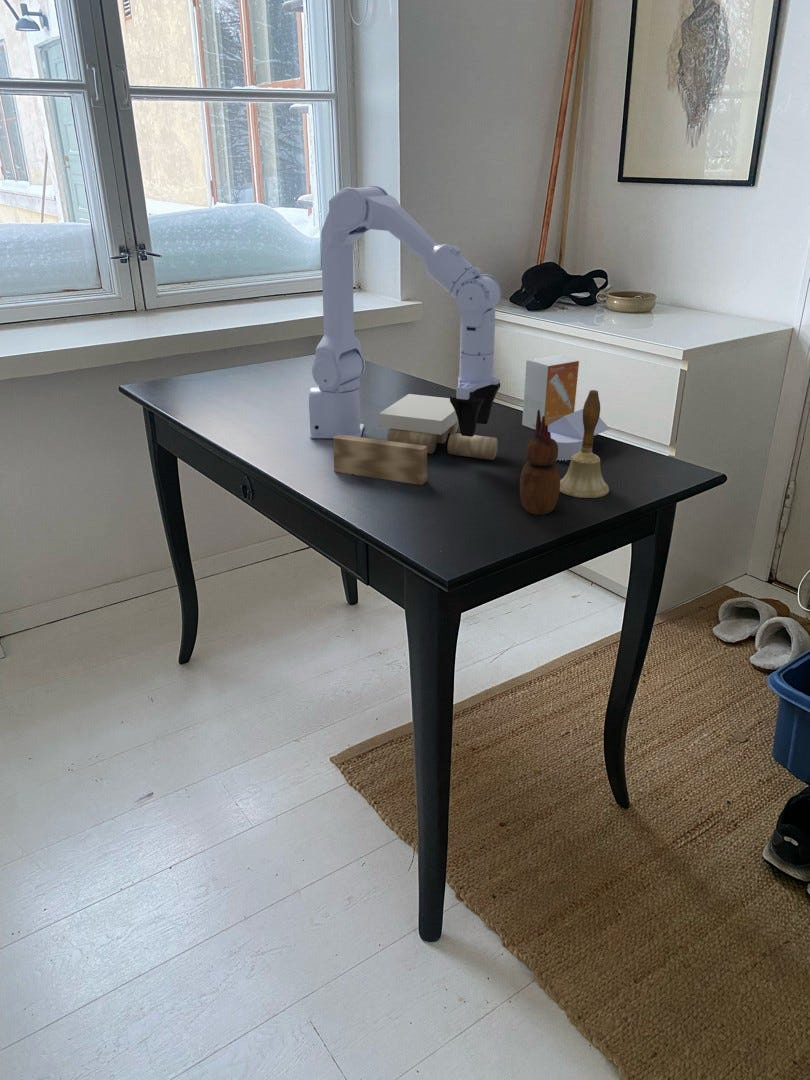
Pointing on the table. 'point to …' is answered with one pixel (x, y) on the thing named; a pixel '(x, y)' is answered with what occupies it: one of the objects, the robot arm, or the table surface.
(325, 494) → the table surface
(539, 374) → the small box
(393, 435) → the roller track
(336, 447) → the block
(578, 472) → the hand bell
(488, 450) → the roller
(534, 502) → the wooden figurine
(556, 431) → the wedge on round base
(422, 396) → the slab
